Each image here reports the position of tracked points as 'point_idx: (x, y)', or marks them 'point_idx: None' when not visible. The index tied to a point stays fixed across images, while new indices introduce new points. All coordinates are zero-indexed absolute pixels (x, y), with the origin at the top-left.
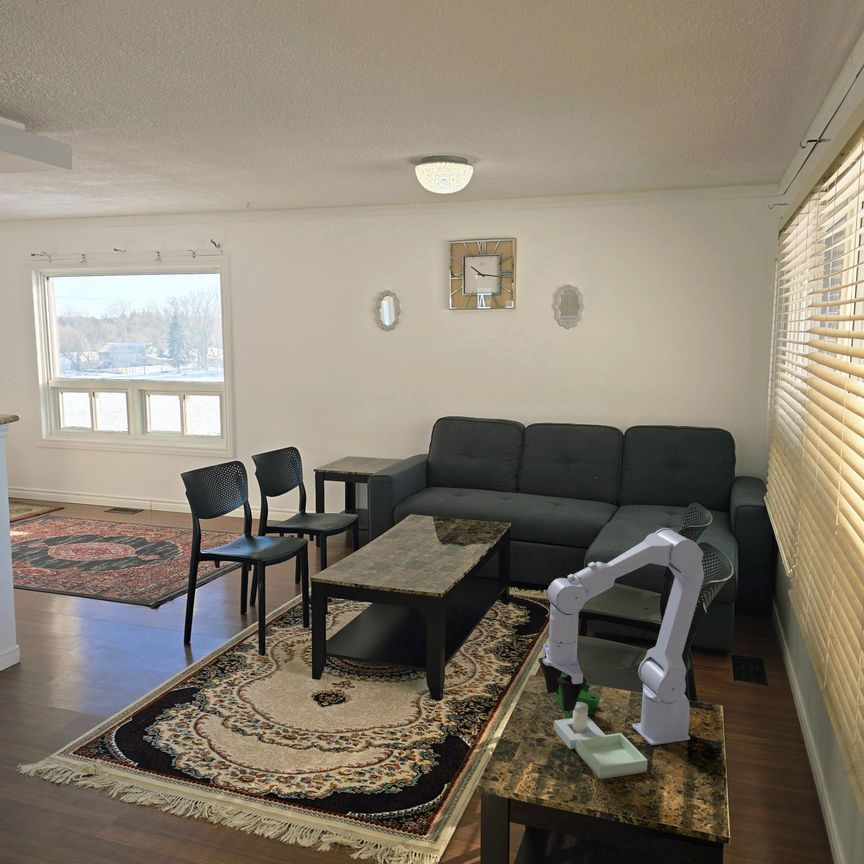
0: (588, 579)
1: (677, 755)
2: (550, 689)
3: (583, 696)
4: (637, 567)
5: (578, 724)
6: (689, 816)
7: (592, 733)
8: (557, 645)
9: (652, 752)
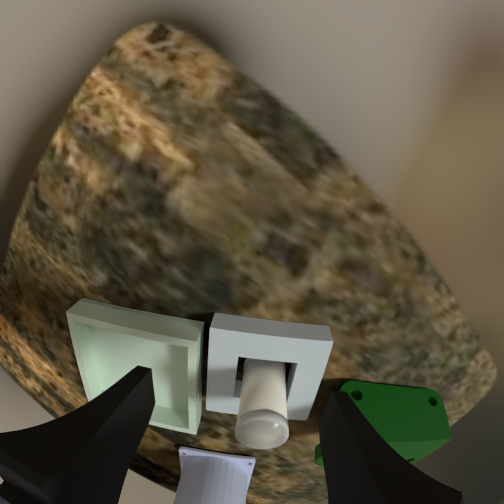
0: None
1: (145, 450)
2: (332, 411)
3: None
4: None
5: (247, 384)
6: (7, 350)
7: (224, 392)
8: None
9: (160, 434)
